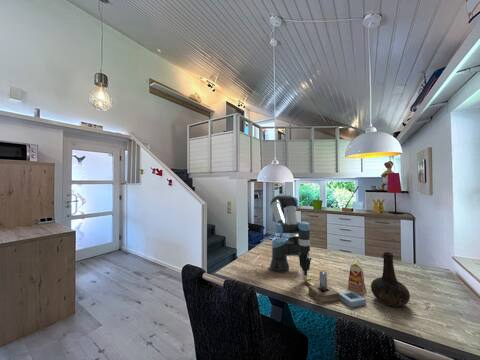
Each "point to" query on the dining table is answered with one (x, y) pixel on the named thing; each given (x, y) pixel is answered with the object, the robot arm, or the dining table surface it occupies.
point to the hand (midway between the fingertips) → (304, 279)
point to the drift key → (308, 281)
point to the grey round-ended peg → (323, 281)
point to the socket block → (323, 294)
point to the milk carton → (356, 278)
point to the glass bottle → (389, 285)
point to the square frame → (353, 302)
